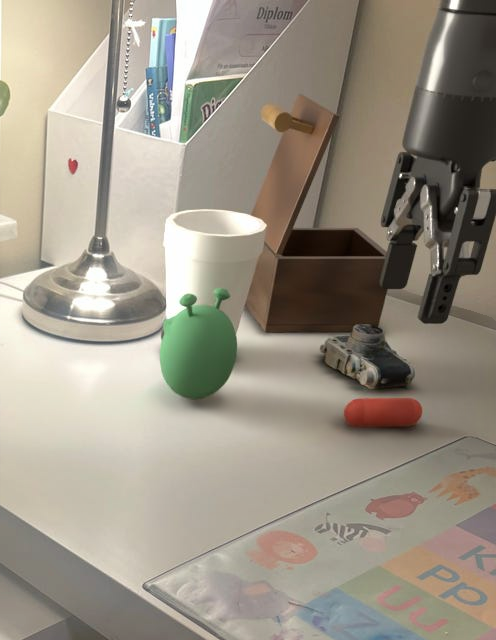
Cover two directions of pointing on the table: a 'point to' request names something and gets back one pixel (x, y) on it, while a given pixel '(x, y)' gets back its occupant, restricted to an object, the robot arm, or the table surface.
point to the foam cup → (211, 258)
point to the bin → (319, 282)
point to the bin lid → (292, 165)
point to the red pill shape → (382, 412)
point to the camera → (368, 358)
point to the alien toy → (198, 348)
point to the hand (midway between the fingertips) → (410, 304)
